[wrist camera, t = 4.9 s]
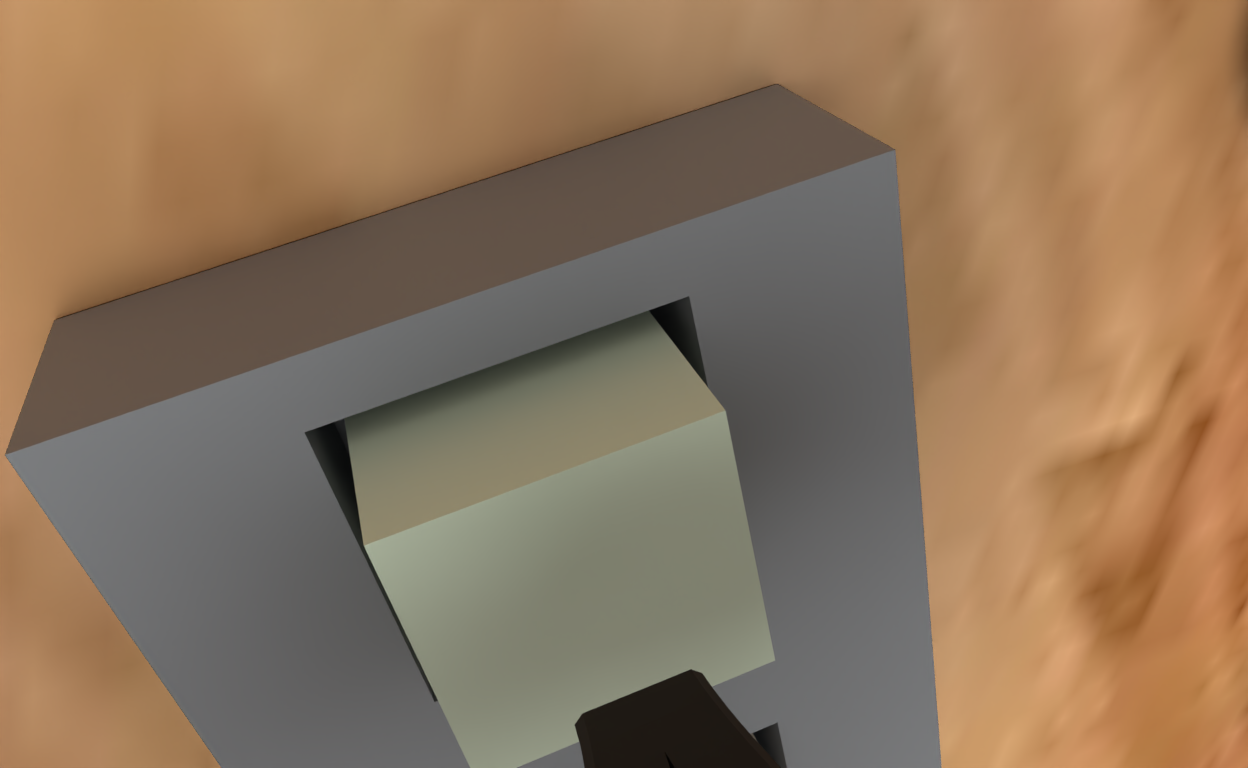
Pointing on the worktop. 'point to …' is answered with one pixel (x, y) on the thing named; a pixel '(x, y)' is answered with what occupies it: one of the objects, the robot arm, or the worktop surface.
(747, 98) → the button console
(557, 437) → the sage button
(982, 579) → the worktop surface
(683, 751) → the robot arm
